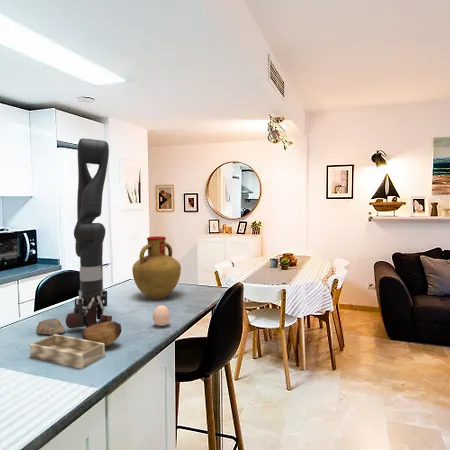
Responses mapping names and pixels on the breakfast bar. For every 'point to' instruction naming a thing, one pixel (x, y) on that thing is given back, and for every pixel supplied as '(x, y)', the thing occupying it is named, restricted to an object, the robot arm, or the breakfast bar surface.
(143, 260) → the vase
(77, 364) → the wooden tray
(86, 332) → the potato
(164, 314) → the egg
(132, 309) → the breakfast bar surface
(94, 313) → the bracket
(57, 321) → the rock
